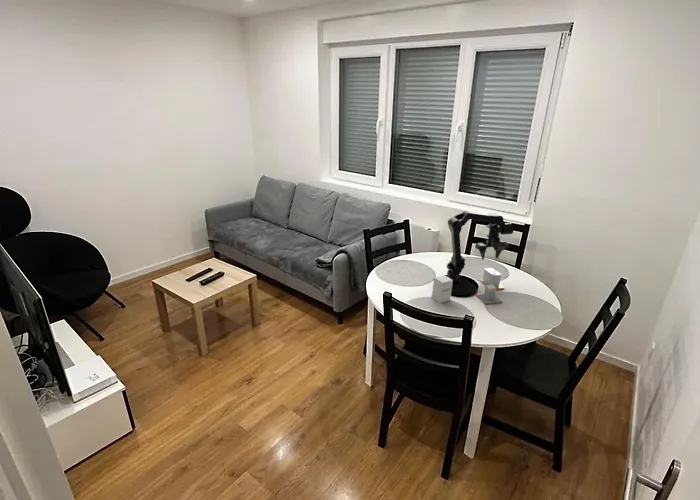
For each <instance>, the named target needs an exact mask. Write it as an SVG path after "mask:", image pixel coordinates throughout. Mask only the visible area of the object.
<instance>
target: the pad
mask: <svg viewBox="0 0 700 500" xmlns="http://www.w3.org/2000/svg"><path fill="white" fill-rule="evenodd" d="M475 296H476V297H477V298H478V299H479V300H480V301H481V302H482V303H483V304H484V305H486V306H487V305H493V304H494V305H495V304H502V303H503V300H502V299H500V298H499V297H498V296H497V295H495V298H494V299H492V300H487V299H486V298H485V297H484V293H482V292H481V293H476V294H475Z"/></svg>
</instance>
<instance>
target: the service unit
mask: <svg viewBox="0 0 700 500" xmlns="http://www.w3.org/2000/svg"><path fill="white" fill-rule="evenodd" d="M501 278H502V274H501V273H500V272H499V271H497V270H496V269H494V268H493V267H488V268H487V267H486V268H484V271H483V277H482V279H480V281H479V282H481V283H482V284H483V285H484V286H486V285H493V286H494V287H496V291H499V290H504V289H505V287H504V286H503V285H501V284H500V283H501Z"/></svg>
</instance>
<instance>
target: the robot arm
mask: <svg viewBox="0 0 700 500" xmlns="http://www.w3.org/2000/svg"><path fill="white" fill-rule="evenodd" d="M469 220H474V221H481V222H488V223H489V224H487V225H486V228H488V229H489V230H488V234H487V235H486V237H487V240H486V241H485V243H483V242H478V243H476V244H475V249H476V250H479V254H480V257H481V260H482V261H484V259H485V257H486V256H485V255H486V252H487V249H489V248H493V250H494V252H495V259H496V260H497V259H498V258H499V256H500V255H501V253H502V252H503V251H506V249H507V250H508V249H509V244H508V243H507V242H506V241H503V240H501V237H500V235H501V236H502V235H504V236H505V235H512V234H513V233H514V227H513V223H511V222H505V221H504V217H503V216H502V215H501V214H499V213H497V212H489V213H483V212H482V213H481V212H476V211H475V212H474V211H469V210H465V211H462V212H461V213H458V214H455V216H453V217H451V218H449V219H448V220H447V224H448V225H447V226H448V229H449V231H450V233H451V244H452V246H451V247H452V248H451V249H452V256H451V259H450V262H449V263H447V265H446V268H447V273H446V276H447V277H448V278H450V279H452V280H453V281H457V280H458V279H459V280H460V274H461V272H462V271H463V270H464V268H465V266H466V263H465V261H466V259H465V257H463V255H462V252H461V250H462V249H461V235H460V234H461V232H462V229H463V228H462V227H464V226H465V225H466V224H467V222H468V221H469Z"/></svg>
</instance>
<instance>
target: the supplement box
mask: <svg viewBox="0 0 700 500" xmlns="http://www.w3.org/2000/svg"><path fill="white" fill-rule="evenodd" d="M432 285H433V286H432V293H431V298H432V299H433V300H435V301H436V302H437V303H439V304H441V303H445V302H448V301H450V300H451V297H452V290H453V280H452V279H450V278H448V277H447V275H446V274H445V275H439V276H435V277H433V284H432Z"/></svg>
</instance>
